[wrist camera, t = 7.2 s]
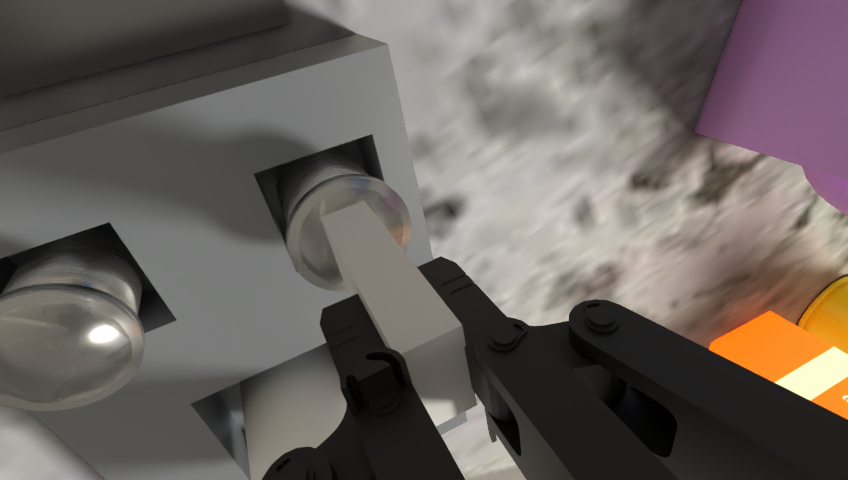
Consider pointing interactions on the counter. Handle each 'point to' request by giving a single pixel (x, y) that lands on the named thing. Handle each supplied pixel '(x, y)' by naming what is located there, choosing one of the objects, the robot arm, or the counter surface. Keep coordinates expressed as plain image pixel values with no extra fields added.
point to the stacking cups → (829, 315)
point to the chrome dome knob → (70, 323)
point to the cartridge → (291, 407)
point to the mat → (114, 34)
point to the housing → (203, 237)
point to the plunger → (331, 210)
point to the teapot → (786, 89)
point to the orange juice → (790, 359)
